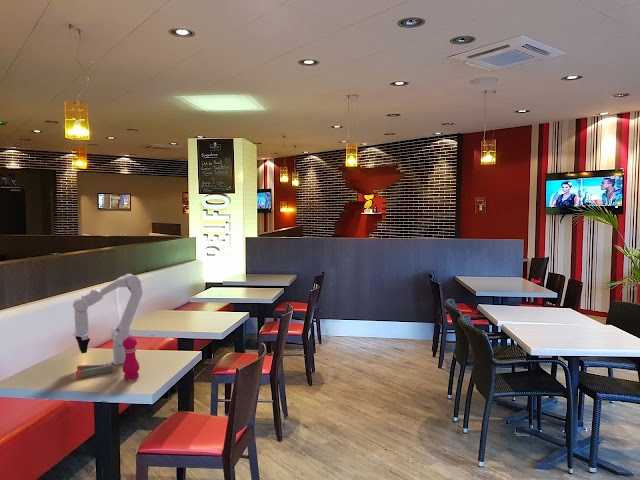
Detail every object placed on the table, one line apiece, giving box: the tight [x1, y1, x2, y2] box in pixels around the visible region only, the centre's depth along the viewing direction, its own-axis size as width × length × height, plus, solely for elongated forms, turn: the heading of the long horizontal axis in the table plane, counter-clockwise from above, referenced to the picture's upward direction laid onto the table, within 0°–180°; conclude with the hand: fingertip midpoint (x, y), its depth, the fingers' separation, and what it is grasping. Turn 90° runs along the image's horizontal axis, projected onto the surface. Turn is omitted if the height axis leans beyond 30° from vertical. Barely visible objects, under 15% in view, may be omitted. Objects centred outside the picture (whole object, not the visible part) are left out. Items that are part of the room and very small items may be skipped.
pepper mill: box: [122, 333, 140, 381], centre depth 221 cm, size 7×7×20 cm
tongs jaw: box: [76, 364, 105, 371], centre depth 231 cm, size 12×2×3 cm, turn 93°
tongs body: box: [75, 362, 113, 380], centre depth 227 cm, size 16×5×3 cm, turn 123°
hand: (83, 351), depth 235 cm, fingers open, 5 cm apart
